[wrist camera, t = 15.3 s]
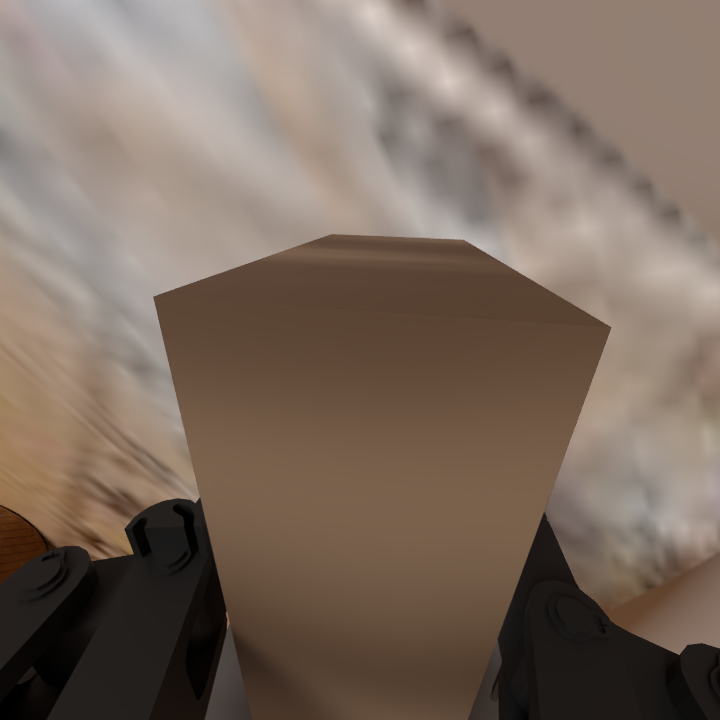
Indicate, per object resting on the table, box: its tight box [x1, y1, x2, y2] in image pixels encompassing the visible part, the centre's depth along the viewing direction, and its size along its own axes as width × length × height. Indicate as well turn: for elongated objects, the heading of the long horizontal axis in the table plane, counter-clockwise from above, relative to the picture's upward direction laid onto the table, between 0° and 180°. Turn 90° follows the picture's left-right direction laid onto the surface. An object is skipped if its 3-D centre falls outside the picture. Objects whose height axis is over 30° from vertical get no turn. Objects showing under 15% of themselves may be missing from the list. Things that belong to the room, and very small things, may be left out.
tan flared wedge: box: [154, 234, 611, 720], centre depth 9 cm, size 13×9×8 cm
